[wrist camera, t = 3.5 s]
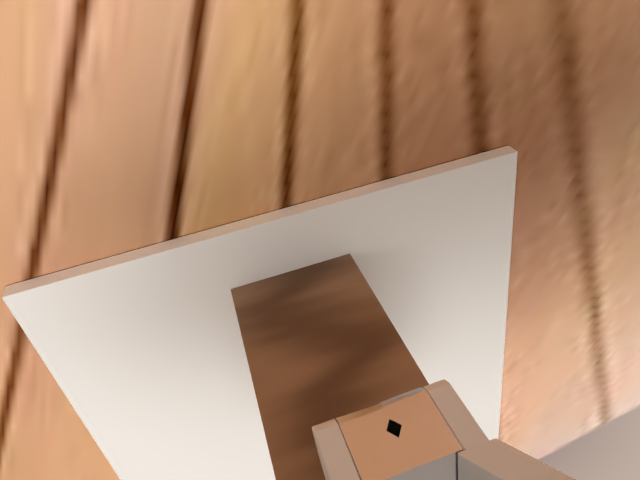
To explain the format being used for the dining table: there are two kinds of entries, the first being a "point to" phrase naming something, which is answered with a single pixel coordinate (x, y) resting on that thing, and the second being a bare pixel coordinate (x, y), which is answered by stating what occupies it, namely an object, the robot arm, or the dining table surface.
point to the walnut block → (318, 356)
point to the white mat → (223, 328)
